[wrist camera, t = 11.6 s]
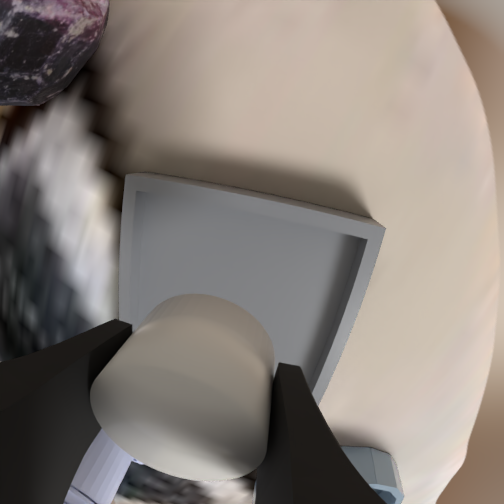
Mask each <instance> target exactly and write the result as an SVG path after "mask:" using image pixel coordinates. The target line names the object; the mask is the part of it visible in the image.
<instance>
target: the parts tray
mask: <svg viewBox="0 0 504 504" xmlns="http://www.w3.org/2000/svg"><path fill="white" fill-rule="evenodd" d="M385 229H386V228H385V227H383V226H382V225H381V224H379V223H378V222H377V221H375V220H374V219H372V218H368V217H364V216H361V215H357V214H353V213H349V212H345V211H341V210H337V209H333V208H329V207H325V206H320V205H316V204H312V203H308V202H303V201H299V200H294V199H290V198H285V197H281V196H276V195H272V194H267V193H262V192H257V191H252V190H247V189H242V188H237V187H232V186H227V185H222V184H216V183H211V182H205V181H200V180H194V179H188V178H182V177H176V176H170V175H164V174H158V173H151V172H139V173H132V174H126V177H125V186H124V196H123V206H122V219H121V234H120V254H119V320H120V321H123V322H126V323H129V324H132V332H134V331H135V330H136V328H137V327H138V326H139V325H140V324H141V322H142V321H143V320H144V319H145V318H146V317H147V315H148V314H149V313H150V312H151V311H152V310H153V309H154V308H155V307H156V306H157V305H158V304H160V303H161V302H163V301H165V300H167V299H169V298H171V297H174V296H178V295H183V294H206V295H212V296H216V297H219V298H223V299H225V300H228V301H230V302H233V303H235V304H236V305H238V306H240V307H242V308H243V309H245V310H246V311H247V312H249V313H250V314H251V315H252V316H253V317H255V318H256V319H257V320H258V321H259V322H260V324H261V325H262V326H263V327H264V329H265V330H266V332H267V333H268V335H269V337H270V339H271V341H272V344H273V348H274V352H275V369H274V376H275V373H276V370H277V367H278V363H279V362H281V363H286V364H291V365H297V366H300V367H301V369H302V371H303V374H304V376H305V378H306V381H307V383H308V386H309V388H310V390H311V392H312V395H313V397H314V399H315V401H316V403H317V405H319V403H320V401H321V399H322V397H323V395H324V393H325V390H326V388H327V386H328V384H329V382H330V380H331V377H332V375H333V373H334V371H335V368H336V366H337V364H338V362H339V359H340V357H341V355H342V352H343V350H344V347H345V345H346V343H347V340H348V338H349V335H350V333H351V330H352V328H353V325H354V322H355V320H356V317H357V315H358V312H359V309H360V306H361V304H362V301H363V298H364V295H365V293H366V290H367V287H368V284H369V281H370V278H371V275H372V272H373V269H374V266H375V263H376V259H377V256H378V253H379V250H380V247H381V243H382V240H383V236H384V233H385Z"/></svg>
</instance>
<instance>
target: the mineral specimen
mask: <svg viewBox="0 0 504 504" xmlns="http://www.w3.org/2000/svg"><path fill="white" fill-rule="evenodd" d="M108 13H109V1H108V0H0V105H21V106H33V105H38V106H39V105H40V104H42V103H44V102H46V101H48V100H50V99H51V98H53V97H55V96H56V95H58V94H59V93H60V92H61V91H62V90H63V89H64V88H66V87H67V86H68V85H69V84H70V83H71V81H72V80H73V79H74V77H75V76H76V75H77V73H78V72H79V71H80V70H81V68H82V67H83V66H84V64H85V63H86V62H87V61H88V60H89V58H90V57H91V56H92V55H93V54H94V52H95V51H96V49H97V48H98V46H99V42H100V40H101V38H102V36H103V33H104V30H105V27H106V24H107V20H108Z"/></svg>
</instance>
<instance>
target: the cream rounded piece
mask: <svg viewBox="0 0 504 504" xmlns="http://www.w3.org/2000/svg"><path fill="white" fill-rule="evenodd" d="M274 369H275V352H274V348H273V344H272V341H271V339H270V337H269V335H268V333H267V332H266V330H265V329H264V327H263V326H262V325H261V324H260V322H259V321H258V320H257V319H256V318H255V317H253V316H252V315H251V314H250V313H249V312H247V311H246V310H245V309H243V308H242V307H240V306H238V305H236V304H235V303H233V302H230V301H228V300H225V299H223V298H219V297H216V296H212V295H206V294H183V295H178V296H174V297H171V298H169V299H167V300H165V301H163V302H161V303H160V304H158V305H157V306H156V307H155V308H154V309H153V310H152V311H151V312H150V313H149V314H148V315H147V317H146V318H145V319H144V320H143V321H142V322H141V324H140V325H139V326H138V327H137V328H136V330H135V331H134V332H133V333H132V334H131V336H130V337H129V338H128V339H127V341H126V342H125V343H124V344H123V345H122V347H121V348H120V349H119V350H118V352H117V353H116V354H115V355H114V356H113V358H112V359H111V360H110V361H109V363H108V364H107V365H106V366H105V368H104V369H103V370H102V371H101V373H100V374H99V375H98V376H97V378H96V379H95V380H94V382H93V384H92V387H91V390H90V402H91V407H92V410H93V413H94V415H95V417H96V419H97V421H98V423H99V424H100V426H101V427H102V429H103V430H104V431H105V433H106V434H107V435H108V436H109V437H110V438H111V439H112V440H113V441H114V442H115V443H116V444H117V445H118V446H119V447H120V448H121V449H123V450H124V451H125V452H126V453H128V454H129V455H131V456H132V457H134V458H135V459H137V460H138V461H140V462H142V463H144V464H146V465H148V466H150V467H152V468H154V469H156V470H158V471H161V472H163V473H166V474H169V475H172V476H176V477H180V478H184V479H189V480H196V481H225V480H231V479H235V478H239V477H241V476H244V475H246V474H248V473H250V472H252V471H253V470H255V469H256V468H257V467H258V466H259V465H260V464H261V463H262V461H263V460H264V458H265V455H266V452H267V443H268V434H269V424H270V413H271V402H272V391H273V380H274Z"/></svg>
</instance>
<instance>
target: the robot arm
mask: <svg viewBox="0 0 504 504" xmlns="http://www.w3.org/2000/svg"><path fill="white" fill-rule="evenodd" d="M132 333H133V332H132V324H129V323H126V322H123V321H120V320H117V319H114V320H111V321H109V322H106V323H104V324H101V325H99V326H97V327H95V328H92V329H90V330H88V331H86V332H84V333H81V334H79V335H77V336H74V337H72V338H70V339H68V340H65V341H63V342H61V343H58V344H55V345H53V346H50V347H47V348H45V349H42V350H40V351H37V352H34V353H32V354H28V355H25V356H22V357H19V358H15V359H11V360H7V361H4V362H0V504H111V502H112V500H113V498H114V496H115V494H116V492H117V490H118V487H119V485H120V483H121V481H122V479H123V477H124V475H125V473H126V471H127V469H128V467H129V465H130V463H131V461H134V462H137V463H139V464H144V463H142V462H140V461H138V460H137V459H135V458H134V457H132V456H131V455H129V454H128V453H126V452H125V451H124V450H123V449H121V448H120V447H119V446H118V445H117V444H116V443H115V442H114V441H113V440H112V439H111V438H110V437H109V436H108V435H107V434H106V433H105V431H104V430H103V429H102V427H101V426H100V424H99V423H98V421H97V419H96V417H95V415H94V413H93V410H92V407H91V402H90V390H91V387H92V384H93V382H94V380H95V379H96V378H97V376H98V375H99V374H100V373H101V371H102V370H103V369H104V368H105V366H106V365H107V364H108V363H109V361H110V360H111V359H112V358H113V356H114V355H115V354H116V353H117V352H118V350H119V349H120V348H121V347H122V345H123V344H124V343H125V342H126V341H127V339H128V338H129V337H130V336H131V334H132ZM255 504H387V503H386V502H385V501H384V500H383V499H382V498H381V497H380V496H379V495H378V494H377V493H376V492H375V491H374V490H373V489H372V488H371V487H370V485H369V484H368V483H367V482H366V481H365V479H364V478H363V477H362V476H361V475H360V473H359V472H358V471H357V469H356V468H355V467H354V465H353V464H352V463H351V461H350V460H349V458H348V457H347V456H346V454H345V453H344V451H343V450H342V448H341V446H340V445H339V443H338V442H337V440H336V438H335V437H334V435H333V433H332V432H331V430H330V428H329V426H328V425H327V423H326V421H325V419H324V417H323V415H322V413H321V411H320V409H319V407H318V405H317V403H316V401H315V399H314V397H313V395H312V392H311V390H310V388H309V386H308V383H307V381H306V378H305V376H304V374H303V371H302V369H301V367H300V366H297V365H291V364H286V363H281V362H279V363H278V367H277V370H276V373H275V376H274V380H273V391H272V402H271V413H270V424H269V434H268V443H267V452H266V455H265V458H264V460H263V461H262V463H261V464H260V465H259V466H258V467H257V482H256V498H255Z"/></svg>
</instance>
